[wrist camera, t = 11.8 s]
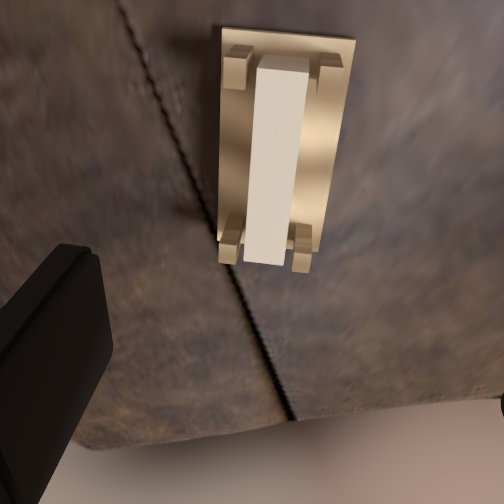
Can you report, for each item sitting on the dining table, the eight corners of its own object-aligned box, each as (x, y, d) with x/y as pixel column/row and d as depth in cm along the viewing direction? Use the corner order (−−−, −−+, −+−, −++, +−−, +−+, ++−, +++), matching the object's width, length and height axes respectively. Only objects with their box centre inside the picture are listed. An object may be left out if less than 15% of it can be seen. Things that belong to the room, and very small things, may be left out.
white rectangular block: (263, 53, 34) (257, 68, 30) (309, 58, 34) (309, 73, 29) (250, 231, 43) (243, 260, 39) (286, 235, 43) (283, 265, 39)
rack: (224, 26, 34) (209, 39, 29) (354, 38, 33) (362, 53, 28) (219, 235, 45) (207, 270, 40) (317, 246, 44) (318, 283, 39)
